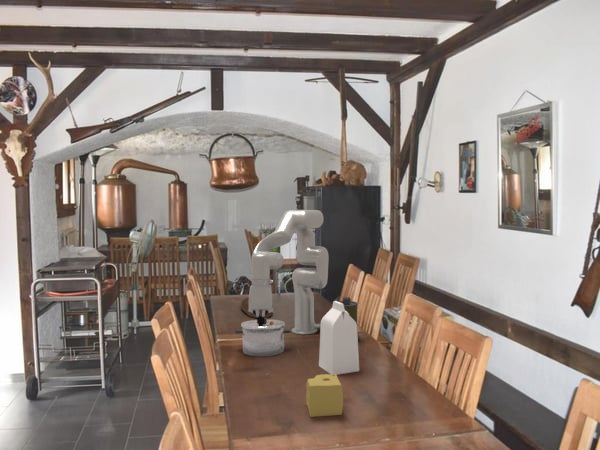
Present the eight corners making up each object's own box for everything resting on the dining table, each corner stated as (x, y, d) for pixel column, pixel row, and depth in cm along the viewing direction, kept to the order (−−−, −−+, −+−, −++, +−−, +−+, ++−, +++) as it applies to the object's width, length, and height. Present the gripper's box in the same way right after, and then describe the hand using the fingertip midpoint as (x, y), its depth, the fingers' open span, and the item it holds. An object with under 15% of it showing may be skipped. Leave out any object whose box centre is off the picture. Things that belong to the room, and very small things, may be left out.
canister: (356, 343, 244) (356, 300, 243) (333, 342, 246) (333, 299, 245) (358, 337, 254) (358, 295, 253) (337, 336, 256) (336, 294, 255)
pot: (292, 344, 244) (291, 322, 243) (289, 356, 226) (289, 333, 226) (239, 344, 245) (238, 322, 244) (233, 356, 227) (232, 333, 226)
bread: (262, 305, 330) (261, 291, 329) (278, 318, 295) (277, 303, 294) (236, 307, 325) (236, 293, 324) (250, 320, 290) (249, 305, 290)
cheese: (305, 404, 175) (305, 374, 175) (338, 403, 176) (338, 373, 176) (309, 418, 165) (308, 386, 164) (343, 416, 166) (343, 384, 165)
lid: (286, 321, 245) (286, 314, 245) (283, 329, 225) (283, 322, 225) (244, 321, 245) (244, 314, 245) (238, 329, 226) (238, 322, 226)
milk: (318, 365, 214) (318, 301, 212) (344, 362, 218) (344, 298, 217) (332, 375, 203) (332, 307, 201) (359, 370, 207) (359, 304, 206)
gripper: (279, 281, 232) (279, 323, 232) (244, 281, 232) (244, 323, 233) (277, 284, 224) (277, 327, 225) (241, 283, 225) (242, 327, 226)
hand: (260, 325), depth 229 cm, fingers closed
